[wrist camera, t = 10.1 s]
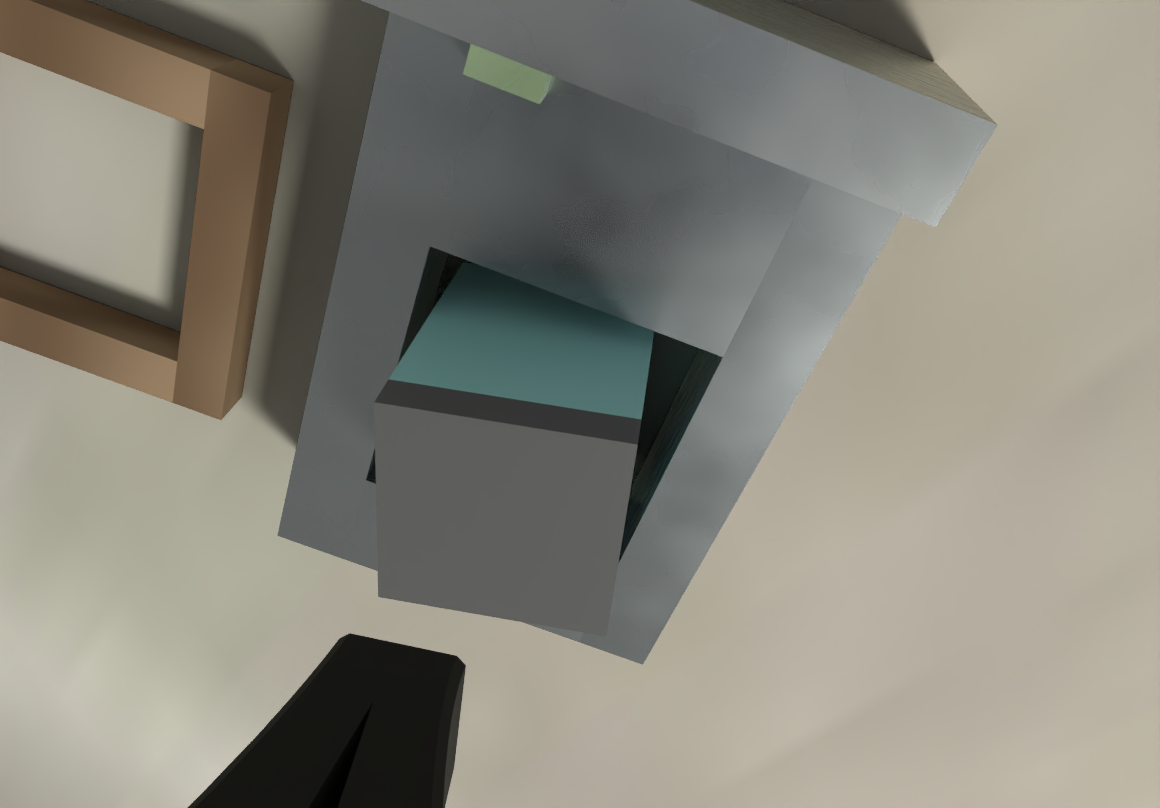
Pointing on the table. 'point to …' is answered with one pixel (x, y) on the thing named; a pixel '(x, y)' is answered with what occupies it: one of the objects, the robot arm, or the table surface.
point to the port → (626, 229)
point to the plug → (509, 454)
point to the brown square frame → (221, 218)
